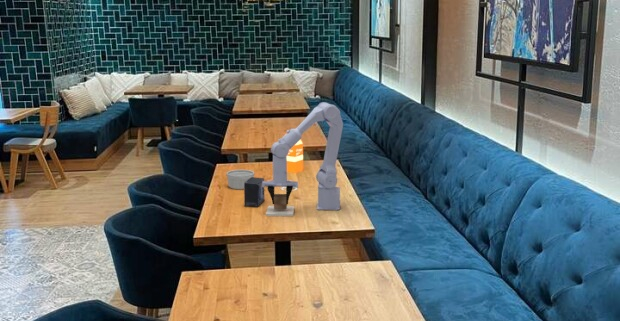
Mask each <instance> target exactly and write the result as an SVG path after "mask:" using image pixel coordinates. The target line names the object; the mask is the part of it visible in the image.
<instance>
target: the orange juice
mask: <svg viewBox="0 0 620 321" xmlns="http://www.w3.org/2000/svg"><path fill="white" fill-rule="evenodd" d="M286 133H287V132H285V134H286ZM285 134H284V135H285ZM302 171H304V143H303V140H302V138H301V139H300V140H299V141H298V142H297V143H296V144H295V145H294V146H293V147H292V148H291V149H290V150H289V153H288V155H287V173H293V174H297V173H300V172H302Z"/></svg>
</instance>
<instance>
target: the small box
mask: <svg viewBox="0 0 620 321" xmlns="http://www.w3.org/2000/svg"><path fill="white" fill-rule="evenodd" d="M263 181H265V177H255V176H254V177H251V178H250V179H249V180H247V181H246V182H245V183H244V189H243V190H244V192H243V194H244V196H243V198H244V200H243V202H244V203H243V204H244V207H252V208H258V207H260V206H261V204H263V203H264V202H265V187H262V182H263Z"/></svg>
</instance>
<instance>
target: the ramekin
mask: <svg viewBox="0 0 620 321" xmlns="http://www.w3.org/2000/svg"><path fill="white" fill-rule="evenodd" d="M226 177H227V178H226V179H227V184H228V187H229V188H230V189H232V190H244V183H245V182H246V181H247V180H249V179H250V178H251V177H255V171H253V170H250V169H233V170H229V171H227V172H226Z"/></svg>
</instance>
